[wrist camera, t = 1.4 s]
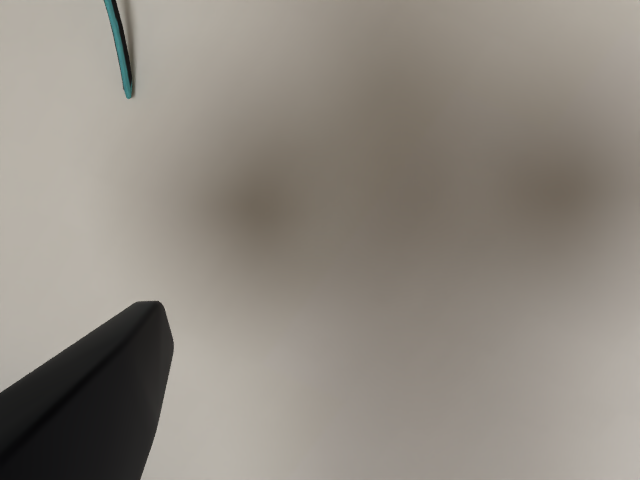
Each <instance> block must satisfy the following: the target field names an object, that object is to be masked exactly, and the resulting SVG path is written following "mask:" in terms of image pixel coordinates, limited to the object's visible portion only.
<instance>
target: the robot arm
mask: <svg viewBox="0 0 640 480" xmlns="http://www.w3.org/2000/svg"><path fill="white" fill-rule="evenodd" d="M173 351H174V342H173V337H172V333H171V330H170V326H169V323H168V319H167V316H166V312H165V309H164V306H163V305H162V303H160V302H159V301H141V302H135V303H134V304H132V305H131V306H129V307H128V308H126V309H125V310H123V311H122V312H120V313H119V314H117V315H116V316H114V317H113V318H111V319H110V320H108V321H107V322H105V323H104V324H102V325H101V326H99V327H98V328H96V329H95V330H93V331H92V332H90V333H89V334H87V335H86V336H84V337H83V338H81V339H80V340H78V341H77V342H75V343H74V344H72V345H71V346H70V347H68V348H67V349H65V350H64V351H62V352H61V353H59V354H58V355H56V356H55V357H53V358H52V359H50V360H49V361H47V362H46V363H44V364H43V365H41V366H40V367H38V368H37V369H35V370H34V371H32V372H31V373H29V374H28V375H26V376H25V377H23V378H22V379H20V380H19V381H17V382H16V383H14V384H13V385H11V386H10V387H8V388H7V389H5V390H4V391H2V392H1V393H0V480H140V479H141V476H142V473H143V470H144V467H145V464H146V461H147V458H148V455H149V452H150V449H151V446H152V443H153V440H154V437H155V433H156V430H157V426H158V422H159V417H160V413H161V408H162V403H163V399H164V394H165V389H166V385H167V380H168V375H169V371H170V366H171V361H172V357H173Z"/></svg>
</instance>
